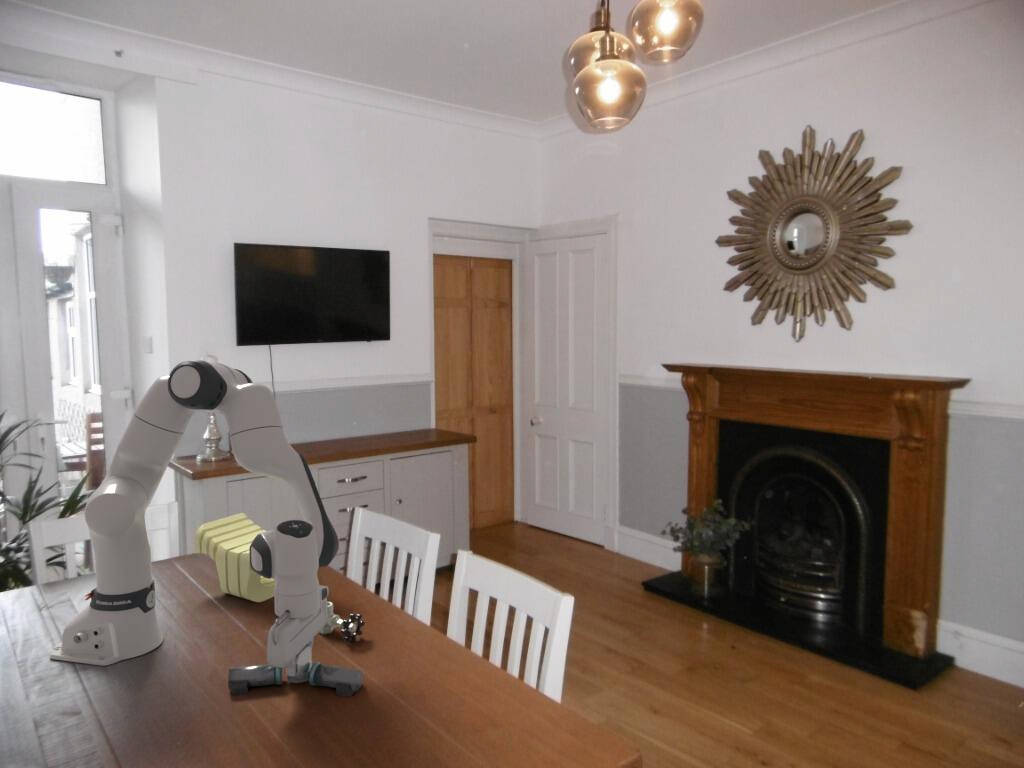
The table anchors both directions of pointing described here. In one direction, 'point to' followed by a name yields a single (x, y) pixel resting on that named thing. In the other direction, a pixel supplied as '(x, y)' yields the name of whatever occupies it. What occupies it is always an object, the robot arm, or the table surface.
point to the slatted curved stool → (234, 556)
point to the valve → (342, 624)
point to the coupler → (302, 665)
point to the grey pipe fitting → (253, 677)
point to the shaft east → (336, 678)
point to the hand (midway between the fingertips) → (299, 666)
